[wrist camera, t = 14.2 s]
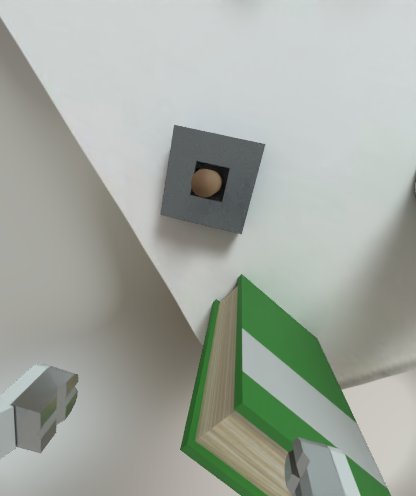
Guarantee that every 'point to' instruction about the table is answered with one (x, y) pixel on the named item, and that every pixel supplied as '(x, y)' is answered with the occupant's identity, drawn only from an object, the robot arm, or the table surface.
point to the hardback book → (267, 399)
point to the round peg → (206, 182)
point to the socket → (219, 154)
